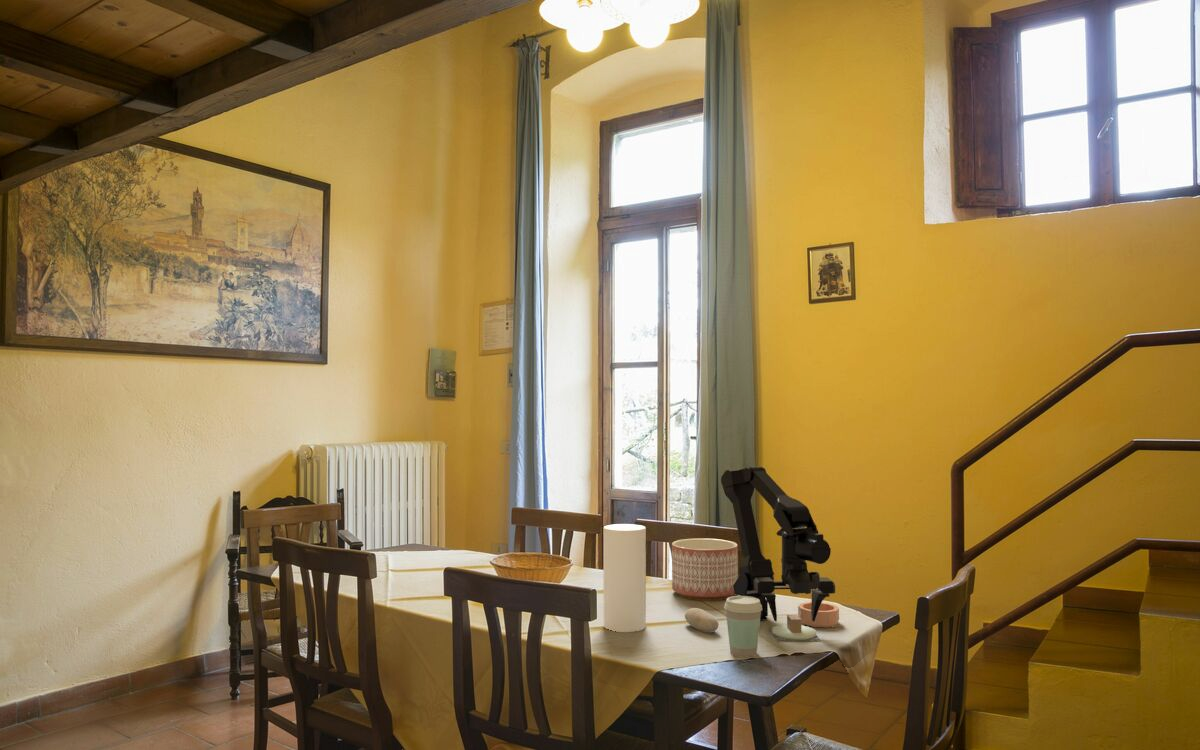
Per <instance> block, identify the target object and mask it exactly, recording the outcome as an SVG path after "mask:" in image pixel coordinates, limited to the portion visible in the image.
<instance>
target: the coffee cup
mask: <svg viewBox="0 0 1200 750" xmlns="http://www.w3.org/2000/svg"><path fill="white" fill-rule="evenodd" d="M723 608H724V609H725V616H726V625H727V634H728V642H729V643H728V644H729V651H730V653H731V655H732V656H736V657H739V658H750V657H754V656H756V655H757V654H758V653H757V652H758V645H759V644H758V642H759V635H760V634H759V633H760V625H761V620H760V617H761V611H762V605H761V603H760V600H759V599H757V598H754V597H749V596H740V595H734V596H733V595H731V596H730V597H729V598H726V601H725V603H724V607H723Z"/></svg>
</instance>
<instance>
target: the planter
mask: <svg viewBox="0 0 1200 750" xmlns="http://www.w3.org/2000/svg"><path fill="white" fill-rule="evenodd" d="M738 547H739V546H738V544H737V543H736V542H735V541H731V540H725V539H718V538H703V537H702V538H701V537H700V538H699V537H698V538H687V539H686V538H685V539H683V538H682V539H678V540H675V541H673V542H672V543H671V558H672V559H671V574H672V575H671V579H672V580H671V581H672V582H671V589H672V590H673V592H675V593H677V594H678V595H679V596H680V597H682V598H686V599H690V600H695V601H696V600H697V601H721V600H725V599H726V600H727V598H729V597H732V596H733V595H735V593H734V588H733V585H734V583H735V582H736V580H737V579H738V578H739V573H738V572H739V568H738V567H739V566H738V563H739V562H738V551H739V550H738V549H739V548H738Z"/></svg>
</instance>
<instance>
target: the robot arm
mask: <svg viewBox="0 0 1200 750" xmlns="http://www.w3.org/2000/svg"><path fill="white" fill-rule="evenodd" d="M720 483H721V486H722V488H723V493H724V495H725V496H726V498H727V499H728V500H729V502H730V503H732V507H733V512H734V518H735V522H736V527H737V533H738V538H739V543H740V547H741V553H742V559H741V561H740V564H739V566H738V567H739V568H738V572H739V573H738V574H739V575H738V579H737V580H736V582H735V583H734V585H733V588H734V595H736V596H749V597H754V598H757V599H759V600H760V603H761V605H762V611H761V617H760V621H768V616H769V610H768V608H769V609H770V613H771V615H772V618H773V621H774V622H777V621H778V620H777V619H778V614H777V604H776V603H777V602H776V598H777V597H776V596H777V595H776V594H775V593H774V591H775V590H789V591H790V593H791V594H793V595H798V594H806V595H810V594H811V601H810V602H811V617H812V621H815V618H816V615H817V613H818V610H819V607H820V605H821V603H823V601H824V600H825V599H826V598H829V597H830V594H836V585H835V582H834V581H833V580H832V579H830V578H829V577H826V576H824V577H822V576H821V577H820V573H819V572H818V571H810V572H809V570H808V563H807V562H811V563H814V564H818V565H823V564H825V563H826V562H827V561H828V560H829V558H830V556H831V553H832V551H831V550H832V548H831V547H830V545H829V543H828V542H827V540H826V539H824V534H823V533H819V530H818V528H817V525H816V523H815V521H814V520H813V517H812V515H811V513H810V509H809V508H808V506H806V505H805V504H804V503H803V502H801V501H800V500H799V499H796V498H794V497H793V498H792V497H791V496H789V495H788V494H787V493H786V492H785V491H784V490H783V489H782V488H781V487H780V486H779V485H778V483H777V482H775V480H774V479H773V478H772V477H771V476H770V475H769V474H768V473H767V471H766V468H765V467H763V466H760V465H759V466H758V465H757V466H755V465H754V466H747V467H745V468H742V469H740V468H739V469H726V470H725V471H724V472H723V473H722V476H721V478H720ZM755 490H756V491H757V492H758V493H759V495H760V496H761V497H762V498H763V499H764V501H766V503H767V504H768V505H769V506H770V507H771V509H772V510H773V512H772V513H773V518H774V520H775V521H776V522H777V524H778V526H779V527H780V529H779V530H778V531H777V532H776V535H777V536H779V537H781V559H780V560H781V561H780V562H781V581H780V580H779V581H777V580H775V573H774V571H773V564H772V561H771V559H770V558H767V559H766V556H764V555H763V553H762V549H761V543H760V540H759V534H758V529H757V524H756V520H755V516H754V515H755V513H754V508H753V505H752V498H753V495H754V493H755Z"/></svg>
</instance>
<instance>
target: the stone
mask: <svg viewBox="0 0 1200 750" xmlns="http://www.w3.org/2000/svg"><path fill="white" fill-rule="evenodd" d="M684 619H685V620H686V622H687V623H688V625H690V626H691V627H692V628H694V629H695V630H698V631H699V632H700V631H701V632H704V633H714V632H715V631H717V630H718V628H719V627H720V626H719V621H718V620H717V618H716V617H715V616H714V615H712V614H711V613H709V612H708V611H706V610H705V609H701V608H699V607H698V608H697V607H692V608H689V609H688V610H686V611H685V614H684Z"/></svg>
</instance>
